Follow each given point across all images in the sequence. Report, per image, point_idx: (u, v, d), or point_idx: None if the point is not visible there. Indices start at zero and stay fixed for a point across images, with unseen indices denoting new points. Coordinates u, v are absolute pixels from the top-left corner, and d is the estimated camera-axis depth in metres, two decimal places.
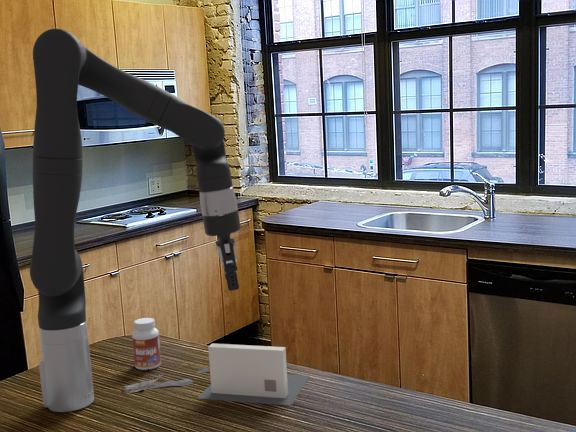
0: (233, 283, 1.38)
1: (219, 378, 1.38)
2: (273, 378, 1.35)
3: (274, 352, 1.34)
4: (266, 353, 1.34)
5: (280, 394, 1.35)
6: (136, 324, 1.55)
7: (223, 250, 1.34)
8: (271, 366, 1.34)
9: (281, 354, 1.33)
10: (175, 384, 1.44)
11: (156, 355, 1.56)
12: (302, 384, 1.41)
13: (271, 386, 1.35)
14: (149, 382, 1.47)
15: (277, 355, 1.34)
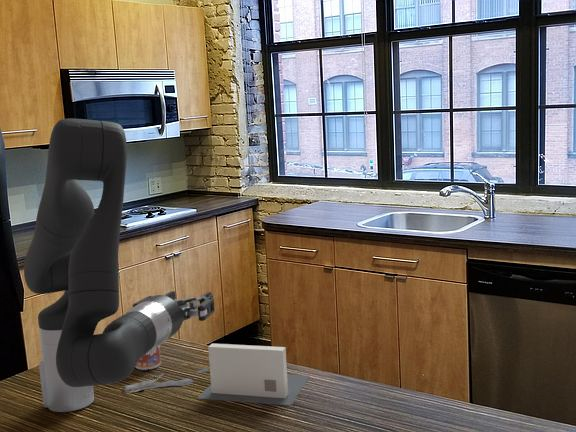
0: None
1: (219, 378, 1.38)
2: (273, 378, 1.35)
3: (274, 352, 1.34)
4: (266, 353, 1.34)
5: (280, 394, 1.35)
6: None
7: None
8: (271, 366, 1.34)
9: (281, 354, 1.33)
10: (175, 384, 1.44)
11: (156, 355, 1.56)
12: (302, 384, 1.41)
13: (271, 386, 1.35)
14: (149, 382, 1.47)
15: (277, 355, 1.34)
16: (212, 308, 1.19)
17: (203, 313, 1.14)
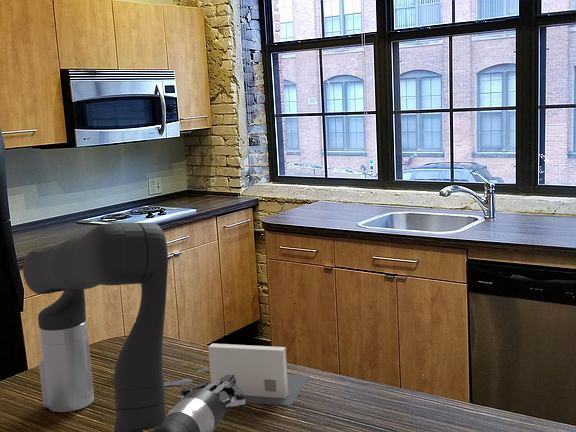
0: None
1: (219, 378, 1.38)
2: (273, 378, 1.35)
3: (274, 352, 1.34)
4: (266, 353, 1.34)
5: (280, 394, 1.35)
6: None
7: None
8: (271, 366, 1.34)
9: (281, 354, 1.33)
10: (176, 383, 1.45)
11: None
12: (302, 384, 1.41)
13: (271, 386, 1.35)
14: None
15: (277, 355, 1.34)
16: None
17: None
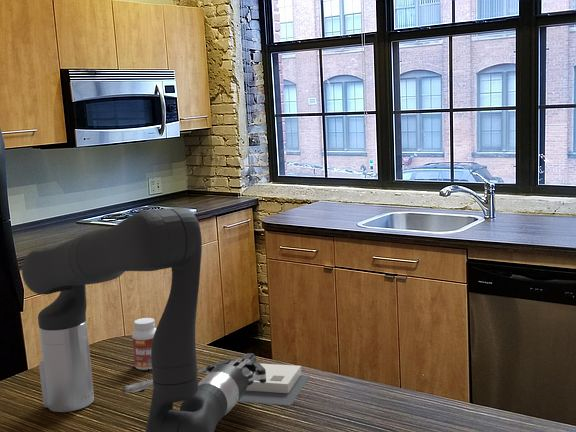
0: None
1: None
2: (282, 375, 1.41)
3: (292, 366, 1.46)
4: (284, 366, 1.46)
5: (284, 382, 1.37)
6: (136, 324, 1.55)
7: None
8: (285, 371, 1.43)
9: (298, 367, 1.45)
10: None
11: None
12: (302, 384, 1.41)
13: (278, 378, 1.39)
14: (149, 382, 1.48)
15: (294, 367, 1.45)
16: None
17: (265, 375, 1.29)
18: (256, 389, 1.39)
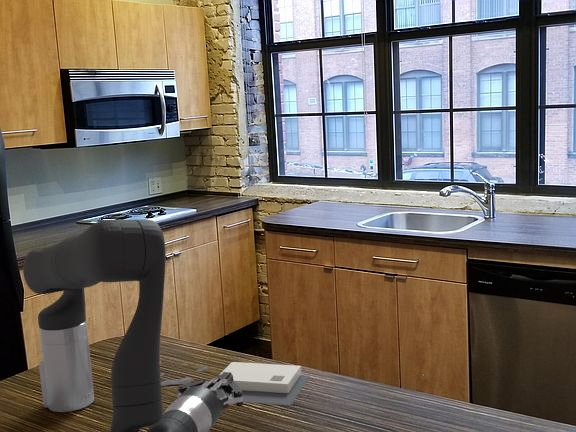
0: None
1: None
2: (282, 375, 1.41)
3: (292, 366, 1.46)
4: (284, 366, 1.46)
5: (284, 382, 1.37)
6: None
7: None
8: (285, 371, 1.43)
9: (298, 367, 1.45)
10: (176, 383, 1.45)
11: None
12: (302, 384, 1.41)
13: (278, 378, 1.39)
14: None
15: (294, 367, 1.45)
16: None
17: (242, 398, 1.18)
18: (256, 389, 1.39)
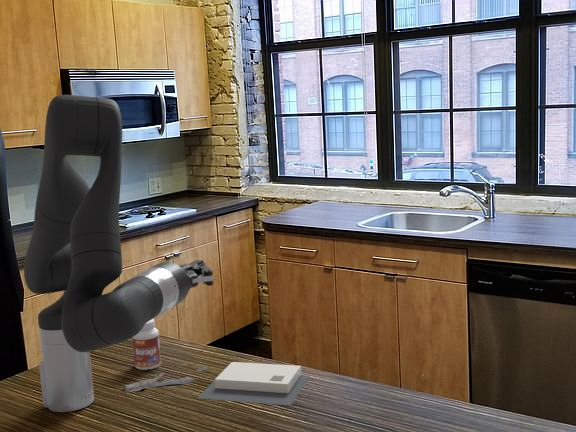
0: None
1: (230, 373, 1.44)
2: (282, 375, 1.41)
3: (292, 366, 1.46)
4: (284, 366, 1.46)
5: (284, 382, 1.37)
6: None
7: None
8: (285, 371, 1.43)
9: (298, 367, 1.45)
10: (176, 382, 1.45)
11: (156, 355, 1.56)
12: (302, 384, 1.41)
13: (278, 378, 1.39)
14: (149, 381, 1.48)
15: (294, 367, 1.45)
16: None
17: (212, 277, 1.15)
18: (256, 389, 1.39)
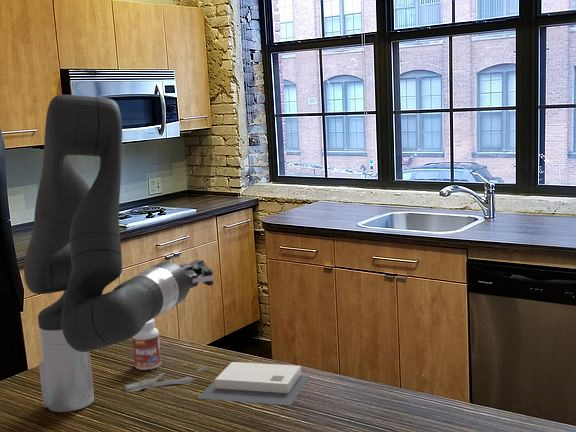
0: None
1: (230, 373, 1.44)
2: (282, 375, 1.41)
3: (292, 366, 1.46)
4: (284, 366, 1.46)
5: (284, 382, 1.37)
6: None
7: None
8: (285, 371, 1.43)
9: (298, 367, 1.45)
10: (176, 382, 1.45)
11: (156, 355, 1.56)
12: (302, 384, 1.41)
13: (278, 378, 1.39)
14: (149, 381, 1.48)
15: (294, 367, 1.45)
16: None
17: (212, 277, 1.15)
18: (256, 389, 1.39)
